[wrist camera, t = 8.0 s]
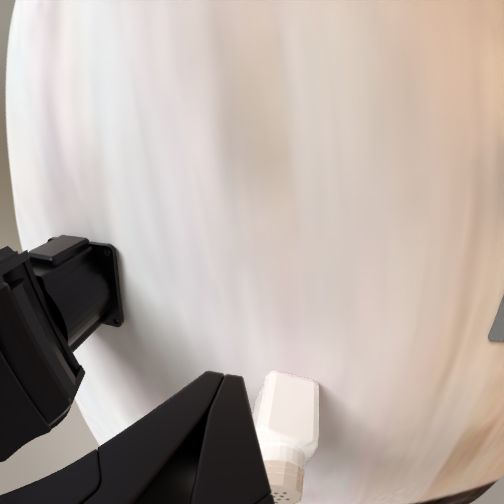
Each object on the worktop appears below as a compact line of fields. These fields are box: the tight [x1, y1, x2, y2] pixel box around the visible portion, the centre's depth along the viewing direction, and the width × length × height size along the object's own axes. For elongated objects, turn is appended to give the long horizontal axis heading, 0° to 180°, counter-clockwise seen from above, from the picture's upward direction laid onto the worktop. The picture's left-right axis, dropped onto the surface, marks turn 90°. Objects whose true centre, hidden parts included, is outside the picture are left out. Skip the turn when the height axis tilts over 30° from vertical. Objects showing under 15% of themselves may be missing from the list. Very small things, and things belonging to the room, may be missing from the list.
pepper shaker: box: [252, 370, 319, 504], centre depth 19 cm, size 4×4×10 cm
